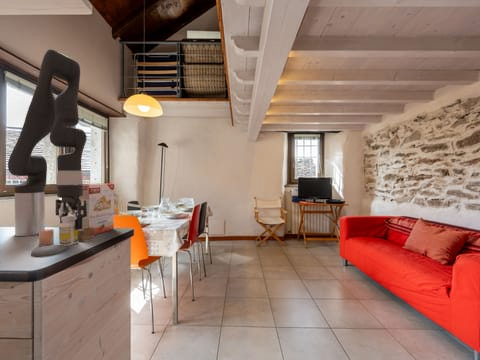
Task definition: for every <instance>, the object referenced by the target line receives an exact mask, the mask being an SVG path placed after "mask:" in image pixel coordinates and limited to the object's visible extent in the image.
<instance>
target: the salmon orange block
mask: <svg viewBox="0 0 480 360" xmlns="http://www.w3.org/2000/svg"><path fill="white" fill-rule="evenodd" d="M54 232H55V231H54V229H52V228H46V229H45V230H41V231H39V234H38V240H39V241H38V246H39V247H44V246H50V245H55V240H54V237H55V236H54V235H55V233H54Z"/></svg>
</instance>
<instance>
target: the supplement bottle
mask: <svg viewBox="0 0 480 360" xmlns="http://www.w3.org/2000/svg"><path fill="white" fill-rule="evenodd" d="M61 221H62V223H61V224H60V223H59V224H58V236H59V237H58V239H59V242H58V243H59V245H64V246H65V247H66V246H71V245H76V244H78V242H79V241H78V230H75V218H74V216H73V215H68V216H64V217H61Z"/></svg>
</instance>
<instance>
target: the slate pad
mask: <svg viewBox="0 0 480 360" xmlns="http://www.w3.org/2000/svg"><path fill="white" fill-rule="evenodd" d="M65 251H66V246H64V245H60V244H52V245H49V246H39V247H37V248H33V249H32V250H31V252H30V254H31V255H30V256H32V257H37V258H38V257H47V256H53V255H57V254H60V253H63V252H65Z"/></svg>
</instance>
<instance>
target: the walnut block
mask: <svg viewBox="0 0 480 360" xmlns="http://www.w3.org/2000/svg"><path fill="white" fill-rule="evenodd" d="M78 240H79V241H78V242H82V243H85V242H87V241H93V240H95V235H94V229H92V228H85V229H80V230H78Z"/></svg>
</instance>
